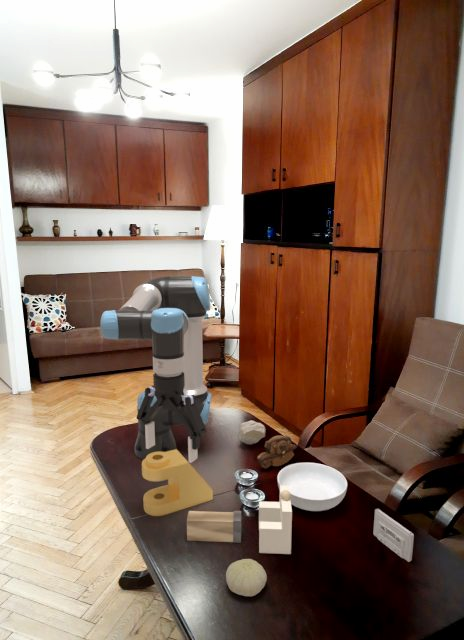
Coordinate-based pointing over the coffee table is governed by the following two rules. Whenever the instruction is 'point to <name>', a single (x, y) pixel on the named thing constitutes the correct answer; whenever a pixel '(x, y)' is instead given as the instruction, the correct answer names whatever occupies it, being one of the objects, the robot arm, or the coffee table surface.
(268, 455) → the wooden carving
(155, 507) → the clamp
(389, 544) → the cassette
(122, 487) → the coffee table surface
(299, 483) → the serving bowl
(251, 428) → the white rock
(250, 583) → the sea urchin shell
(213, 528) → the rail
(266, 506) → the white notched block
